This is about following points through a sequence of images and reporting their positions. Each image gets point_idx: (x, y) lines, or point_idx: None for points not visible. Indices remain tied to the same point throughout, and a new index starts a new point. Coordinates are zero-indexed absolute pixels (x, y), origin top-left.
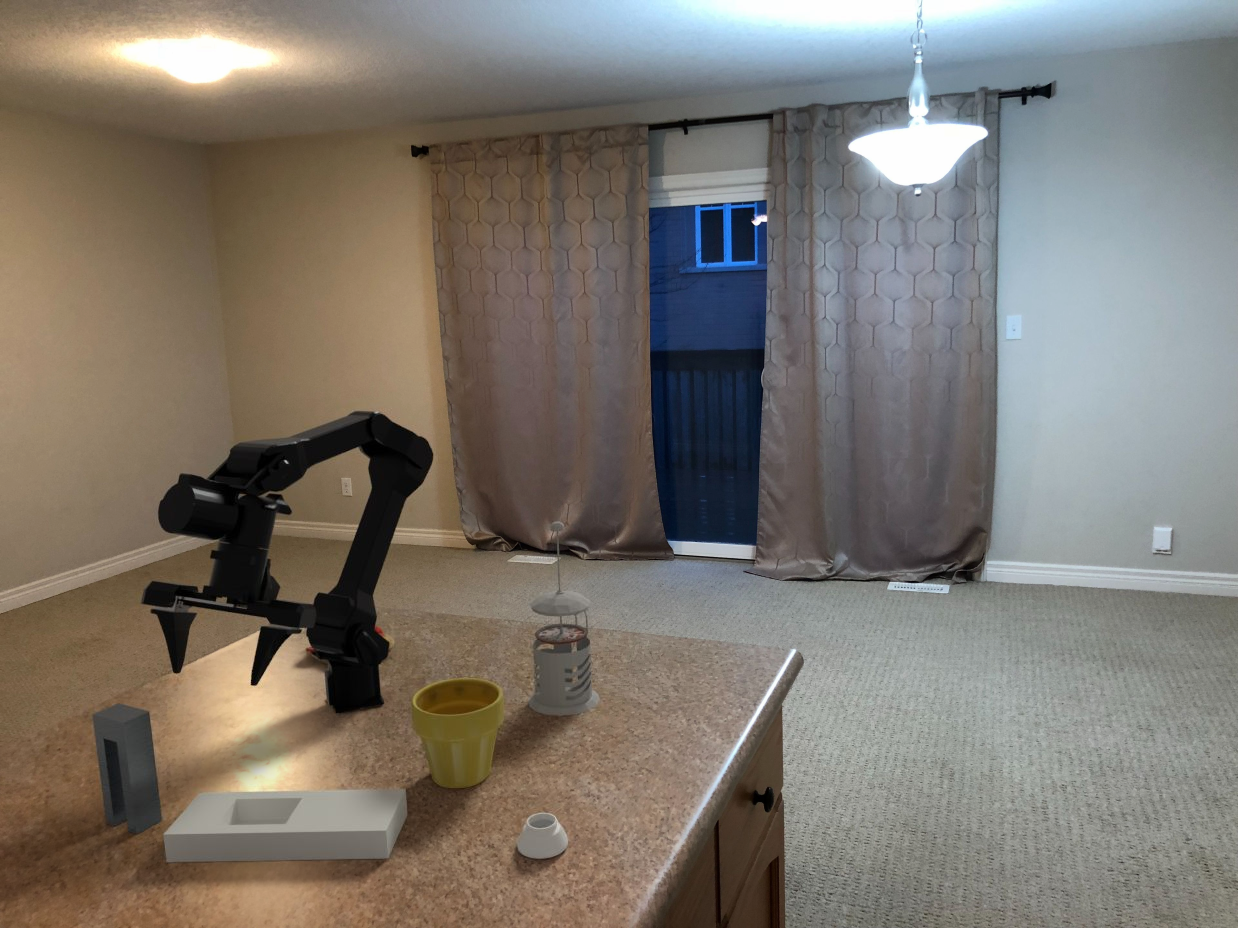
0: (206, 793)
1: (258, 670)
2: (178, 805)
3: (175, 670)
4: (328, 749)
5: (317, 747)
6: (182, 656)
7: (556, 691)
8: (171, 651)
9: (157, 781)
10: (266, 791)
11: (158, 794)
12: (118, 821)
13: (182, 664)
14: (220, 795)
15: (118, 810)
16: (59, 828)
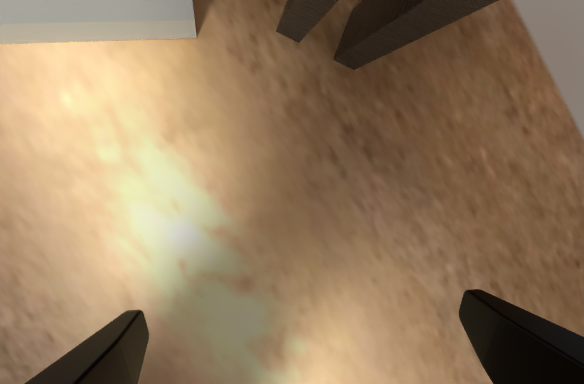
0: (175, 13)
1: (69, 352)
2: (275, 88)
3: (475, 292)
4: (72, 340)
5: None
6: (499, 365)
7: None
8: (562, 335)
9: (295, 2)
10: (14, 22)
11: (288, 12)
12: (351, 15)
13: (474, 343)
14: (132, 2)
15: (358, 11)
16: None
